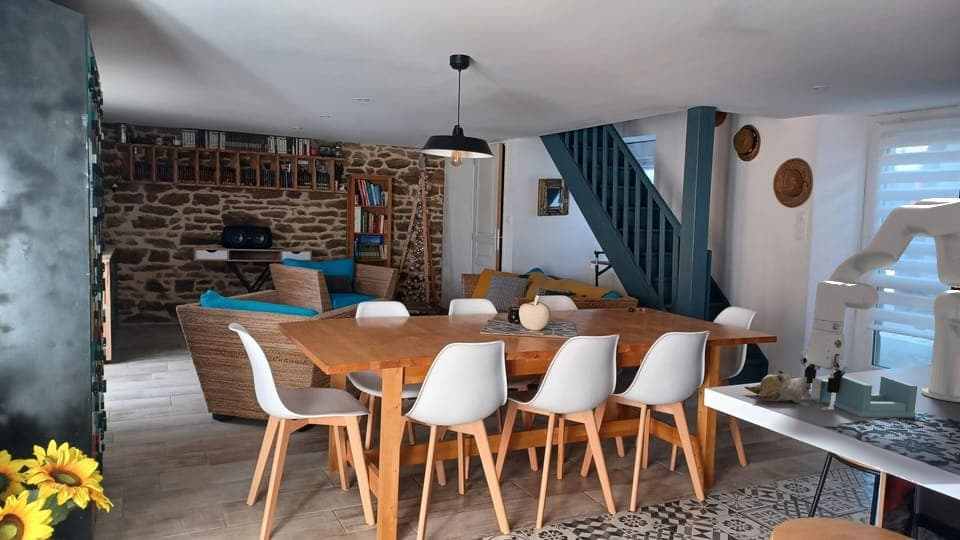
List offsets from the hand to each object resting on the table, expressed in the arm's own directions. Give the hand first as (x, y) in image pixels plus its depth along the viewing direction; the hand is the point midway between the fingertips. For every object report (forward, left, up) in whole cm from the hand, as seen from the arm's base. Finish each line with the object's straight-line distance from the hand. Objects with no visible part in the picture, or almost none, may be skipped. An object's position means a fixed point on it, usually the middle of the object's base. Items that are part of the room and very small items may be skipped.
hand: (820, 387), depth 185 cm
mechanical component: (-6, -14, -4) cm, 16 cm away
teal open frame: (-9, +9, -4) cm, 14 cm away
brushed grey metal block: (0, 0, -4) cm, 4 cm away
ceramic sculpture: (+13, 0, -4) cm, 13 cm away
